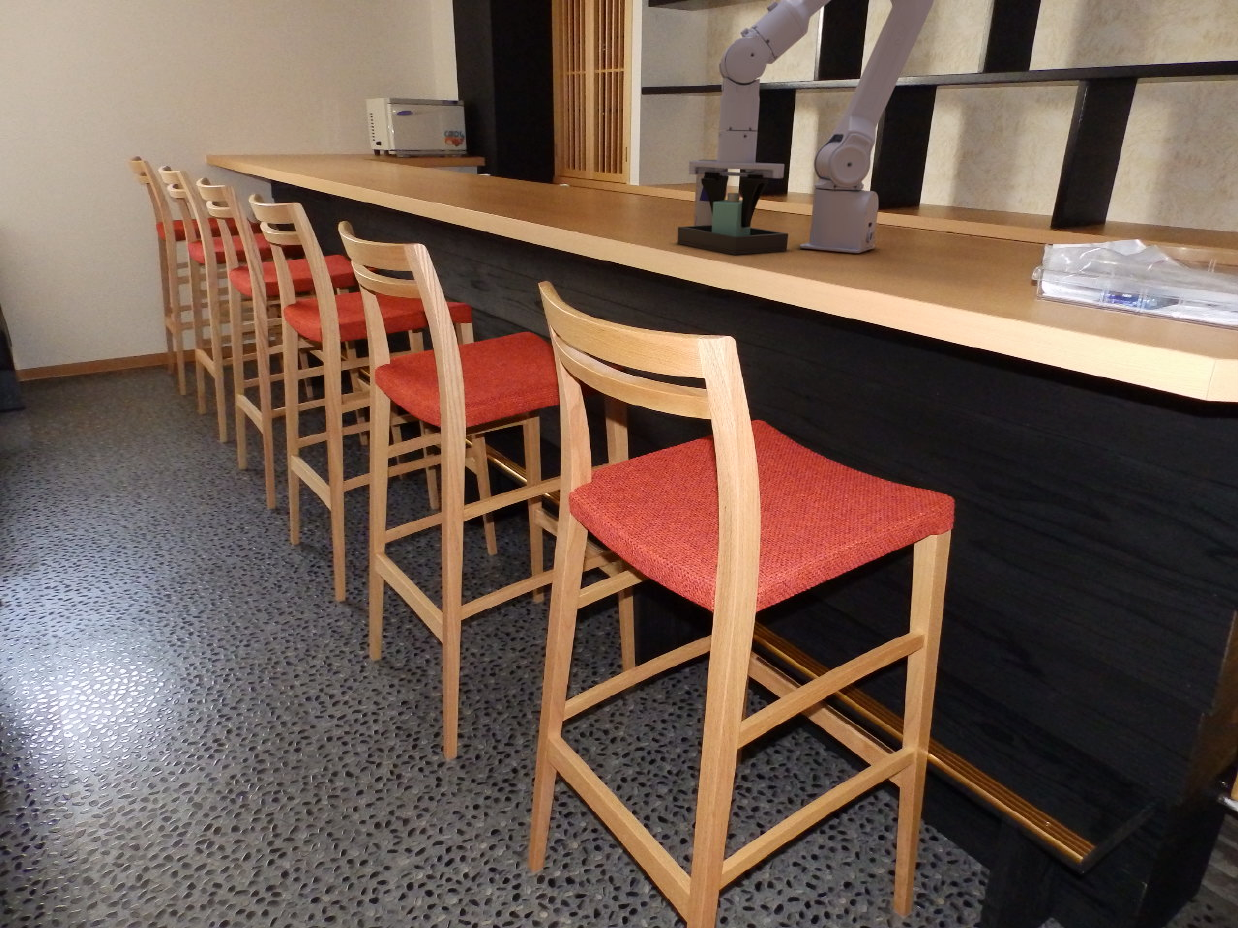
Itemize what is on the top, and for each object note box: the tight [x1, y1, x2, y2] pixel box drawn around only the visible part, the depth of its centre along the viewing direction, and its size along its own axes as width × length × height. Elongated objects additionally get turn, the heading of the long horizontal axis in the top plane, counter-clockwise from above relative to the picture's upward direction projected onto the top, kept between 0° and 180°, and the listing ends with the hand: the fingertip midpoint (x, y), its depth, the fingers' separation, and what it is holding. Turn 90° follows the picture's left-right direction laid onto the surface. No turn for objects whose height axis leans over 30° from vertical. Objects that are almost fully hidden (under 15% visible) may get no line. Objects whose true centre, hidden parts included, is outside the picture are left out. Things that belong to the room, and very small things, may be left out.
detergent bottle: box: [712, 192, 752, 236], centre depth 129 cm, size 4×6×7 cm, turn 150°
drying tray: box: [676, 225, 789, 256], centre depth 130 cm, size 14×10×3 cm
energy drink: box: [693, 158, 729, 226], centre depth 146 cm, size 5×5×12 cm
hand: (731, 226), depth 129 cm, fingers closed on detergent bottle, 4 cm apart
